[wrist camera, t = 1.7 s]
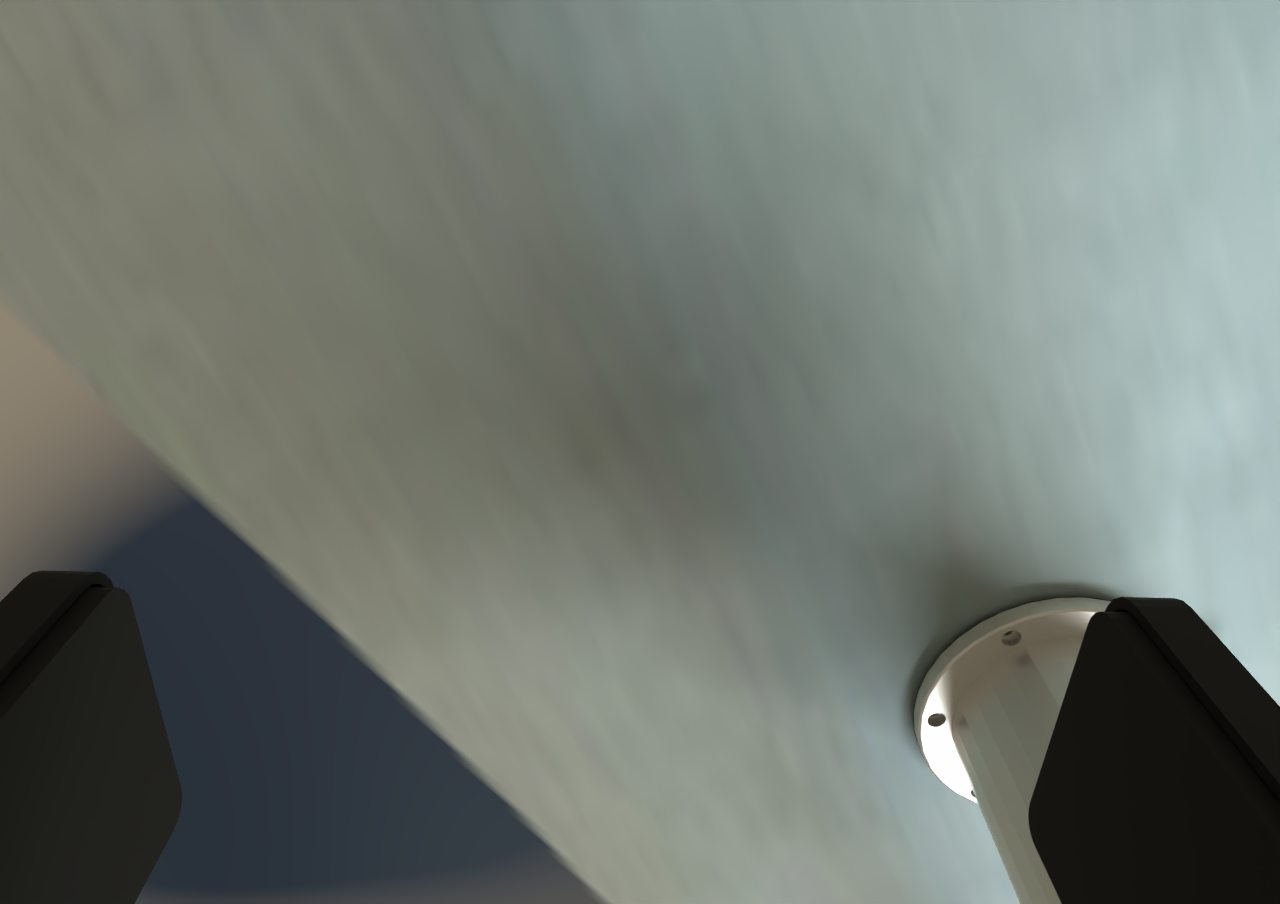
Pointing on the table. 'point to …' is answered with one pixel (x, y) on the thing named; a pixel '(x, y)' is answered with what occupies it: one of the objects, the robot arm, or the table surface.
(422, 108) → the table surface
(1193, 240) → the table surface
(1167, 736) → the robot arm
